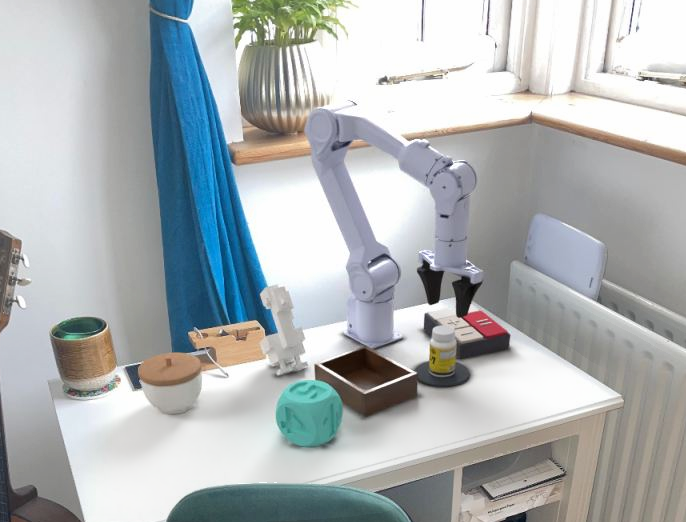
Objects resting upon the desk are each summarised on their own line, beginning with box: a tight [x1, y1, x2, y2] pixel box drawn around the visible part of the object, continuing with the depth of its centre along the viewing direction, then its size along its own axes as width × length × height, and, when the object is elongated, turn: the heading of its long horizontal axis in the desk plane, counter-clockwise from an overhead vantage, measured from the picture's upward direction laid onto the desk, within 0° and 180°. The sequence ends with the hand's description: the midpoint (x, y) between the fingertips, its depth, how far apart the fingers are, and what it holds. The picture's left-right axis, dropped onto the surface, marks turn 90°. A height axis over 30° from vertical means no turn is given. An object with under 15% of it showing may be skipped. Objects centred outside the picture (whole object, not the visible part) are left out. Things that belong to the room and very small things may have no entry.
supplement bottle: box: [428, 325, 457, 377], centre depth 143 cm, size 5×5×8 cm
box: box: [314, 345, 419, 418], centre depth 141 cm, size 15×12×4 cm
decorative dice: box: [275, 379, 344, 448], centre depth 128 cm, size 8×8×8 cm
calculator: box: [423, 303, 511, 360], centre depth 157 cm, size 11×4×15 cm
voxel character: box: [259, 284, 309, 376], centre depth 147 cm, size 7×12×15 cm
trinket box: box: [137, 352, 203, 415], centre depth 138 cm, size 11×11×9 cm
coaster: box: [413, 360, 471, 388], centre depth 146 cm, size 10×10×1 cm
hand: (447, 309), depth 147 cm, fingers open, 7 cm apart
